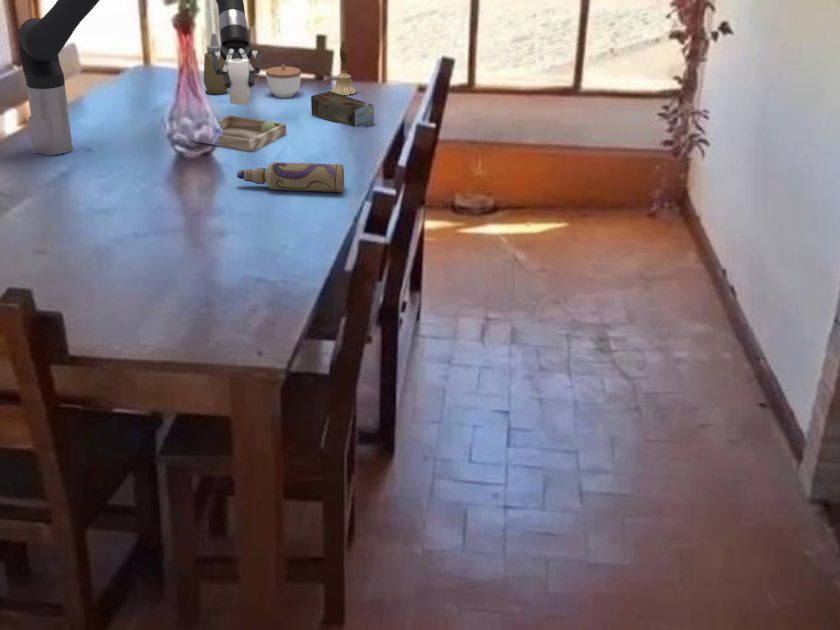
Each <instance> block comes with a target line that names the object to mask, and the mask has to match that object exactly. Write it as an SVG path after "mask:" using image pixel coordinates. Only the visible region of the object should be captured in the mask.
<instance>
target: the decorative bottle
mask: <svg viewBox="0 0 840 630" xmlns="http://www.w3.org/2000/svg"><path fill="white" fill-rule="evenodd" d="M344 168H345V167H344V165H343V164H342V163H338V164H337V163H336V164H335V163H316V162H315V163H314V162H309V163H308V162H284V161H281V162H275V161H273V162H271V163H270V164H269V166H268V167H266V168H265V167H258V168H255V169H245V170H239V171H238V172H237V173H236V178H238V179H240V180H243V181H245V182H250V183H251V182H252V183H255V184H256V185H263V186H264V185H266V186H268V188H269V189H271V190H273V191H291V192H296V191H297V192H299V191H301V192H303V191H304V192H323V193H325V192H326V193H341V194H343V192H344V189H345V188H344V187H345V169H344Z"/></svg>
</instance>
